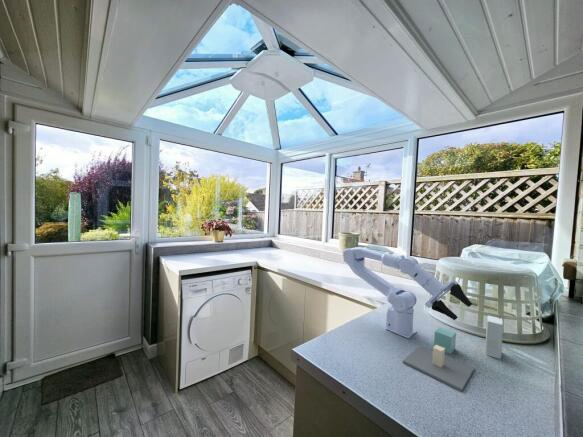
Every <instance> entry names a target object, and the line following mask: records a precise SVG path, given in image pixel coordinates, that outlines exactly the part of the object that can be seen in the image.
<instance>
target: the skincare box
mask: <svg viewBox="0 0 583 437" xmlns="http://www.w3.org/2000/svg"><path fill="white" fill-rule="evenodd" d="M486 317H487V319H486V320H487V321H486V331H485V332H486V334H485V352H484V353H485V355H486V356H489V357H492V358H495V359H499V360H502V350H503V348H502V346H503V331H504V321H503V318H499V317H496V316H493V315H492V316H491V315H487V316H486Z"/></svg>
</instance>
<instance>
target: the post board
mask: <svg viewBox="0 0 583 437" xmlns="http://www.w3.org/2000/svg"><path fill="white" fill-rule="evenodd" d="M402 363H403V364H405V365H407V366H409V367H411V368H413V369H415V370H416V371H418V372H420V373H423V374H425V375H427V376H429V377H430V378H433V379H434V380H435V379H436V380H437V381H439V382H441V383H443V384H446V385H447V386H450V387H451V388H453V389H455V390H457V391H459V392H461V393H462V392H463V390H464V389H465V387H466V386H467V384H468V382H469V380H470V379H471V377H472V375H473V373H474V372H475V370H476V369H475V367H474V366H472V365H469V364H467V363H465V362H463V361H461V360H457V359H455V358H452V357H451V356H449V355H446V352H445V348H443V347H441V346H438V345H435V346H434V345H433V346H432V349H431V348H429V347H426V346H424V345H422V344H419V345H418V346H417V347H416V348H415V349H414V350H413V351H411V352H410V353H409V354H408V355H407V356H406V357H405V358H404V359H403V360H402Z"/></svg>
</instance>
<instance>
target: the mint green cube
mask: <svg viewBox="0 0 583 437" xmlns="http://www.w3.org/2000/svg"><path fill="white" fill-rule="evenodd" d="M433 340H434V341H433V347H434V346H435V345H438V346H441V347H443V348H445V354H449V355H451V354H452V353H453V352H454V351H455V349H456V342H457V341H456V340H457V332H455V331H453V330H450V329H447V328H444V327H441V326H439V327H438V328H436V330H435V331H434V339H433Z"/></svg>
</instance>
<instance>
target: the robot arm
mask: <svg viewBox="0 0 583 437" xmlns="http://www.w3.org/2000/svg"><path fill="white" fill-rule="evenodd" d="M342 258H343V262H345V264H347V265H348V267H349V269H351V271H352V272H353V274H355V276H357V277H359V278H360V279H362V280H363V281H364V282H366V284H368V285H370V286H371V287H373V288H374V289H375V290H377V291H378V292H380V293H381V294H382V295H384V296H385V297H386V300H387V302H388V303H389V304H390V306H388V308H387V311H386V318H385V320H386V323H385V327H384V329H385V330H387V331H389V332H392V333H393V334H396V335H398V336H402V337H404V338H405V339H410V338H411V337H412V336H413V335H415V334H416V333H417V332H418V331H417V329H416V330H415V328H414V307H415V305H416V304H417V297H416V294H414V293H413V292H412V291H409V290H406V289H403V288H402V287H398V286H394V285H393V284H392V283H391V282H389V281H387V280H386V279H384V278H382V277H381V276H379V275H378V274H377V273H375V272H374V271H372V270H371V269H369V268H367V267H366V266H365V263H366V262H365V261H366V260H365V258H368V259H369V260H371V259H372V260H374V261H379V262H381V263H382V265H383V266H386V267H389V268H393V269H395V270H398V271H399V270H400V273H402V274H404V275H408V276H409V277H410V278H411V279H412V280H413V281H415V282H416V283H417V284H418V285H419V286H420V287H421V288H423V289H424V290H425V291H426V292H427V293H429V295H431V297H430V298H429V299H428V300H427V301H426V302H425V303H424V305H425V306H426V307H427V308H428V309H431V310H432V311H435V312H438V313H440V314H443V315H445V316H446V317H448V318H450V319H452V320H453V321H455V320H457V319H458V318H459V317H458V316H457V314H456V313H454V312H453V311H452V310H451V309H450V308H449V307H448V306H447V305H446V304H445V303H444V302H443V301H442V299H443V297H444V296H446V294H447V293H448V292H449V295H450V296H453V297H455V298H456V299H457V300H458V301H460V302H461V303H462V304H464V305H465V306H467V307H468V308H469V307H471V306H472V305H473V303H472V301H471V300H470V299H469V298H468V297H467V295H466V293H465V292H464V291H463V288H462V287H461V284H459V282H457V281H456V280H455V279H454V278H452V279H451V280H450V281H449V282H448V283H446V284H443V283H442V282H441V281H440V280H439V279H437V278H436V277H435V276H434V275H433V274H432V273H430V272H429V271H428V270H426V269H425V268H424V267H422V265H420V264H419V261H418V260H417V258H415V257H412V256H406V255H404V254H397V253H394V252H393V251H388V252H385V253H381V252H379V251H376V250H373V249H369V248H366V247H364V246H355V247H351V248H350V247H348V248H345V249H344V250H343V252H342ZM441 298H442V299H441Z"/></svg>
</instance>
